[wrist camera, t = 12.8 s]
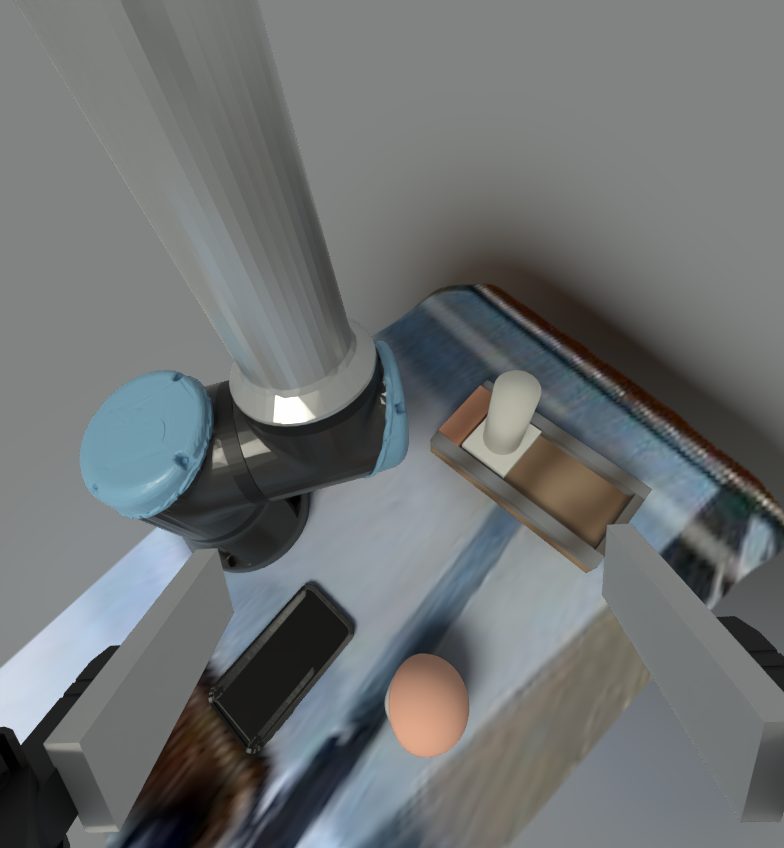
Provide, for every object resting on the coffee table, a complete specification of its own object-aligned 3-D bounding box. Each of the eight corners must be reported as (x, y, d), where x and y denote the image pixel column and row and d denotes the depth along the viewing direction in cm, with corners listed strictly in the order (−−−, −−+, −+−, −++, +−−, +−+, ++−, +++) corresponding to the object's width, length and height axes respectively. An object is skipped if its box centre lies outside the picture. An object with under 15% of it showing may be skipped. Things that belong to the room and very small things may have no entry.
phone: (204, 696, 45) (308, 580, 49) (209, 695, 46) (310, 581, 50) (252, 760, 42) (358, 631, 46) (256, 757, 43) (360, 631, 47)
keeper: (461, 449, 52) (468, 397, 41) (498, 408, 54) (513, 348, 43) (502, 480, 50) (521, 434, 39) (539, 436, 52) (566, 381, 41)
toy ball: (387, 653, 45) (378, 656, 38) (461, 650, 45) (466, 653, 38) (390, 747, 42) (380, 769, 35) (470, 745, 41) (477, 767, 34)
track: (430, 451, 55) (430, 438, 51) (484, 393, 58) (487, 377, 54) (585, 572, 47) (597, 567, 43) (638, 498, 50) (654, 487, 46)
